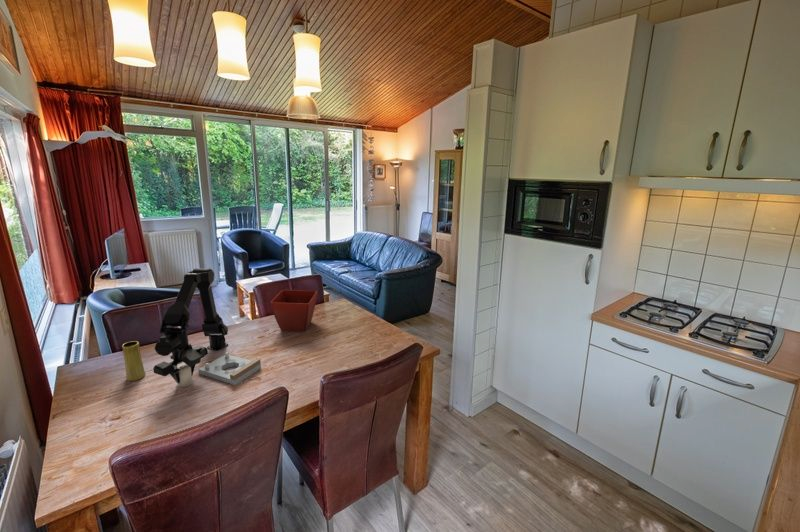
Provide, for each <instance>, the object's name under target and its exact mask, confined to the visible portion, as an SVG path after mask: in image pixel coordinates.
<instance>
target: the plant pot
mask: <svg viewBox="0 0 800 532" xmlns="http://www.w3.org/2000/svg"><path fill="white" fill-rule="evenodd" d="M317 296H318V291H317V290H301V289H299V290H298V289H282V290H281V291H279V293H278V294H276V296H275V297H274V298H273V299H272V300H271V301H270V306H271V309H272V313H273V316H274V319H275V321H276V323H277V325H278V328H279V329H280V331H283V332H284V331H285V332H287V331H288V332H306V330H307V329H308V328H309V326H310V324H311V322H312V320H313V316H314V312H315V309H316V308H315V307H316V303H317Z"/></svg>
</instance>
